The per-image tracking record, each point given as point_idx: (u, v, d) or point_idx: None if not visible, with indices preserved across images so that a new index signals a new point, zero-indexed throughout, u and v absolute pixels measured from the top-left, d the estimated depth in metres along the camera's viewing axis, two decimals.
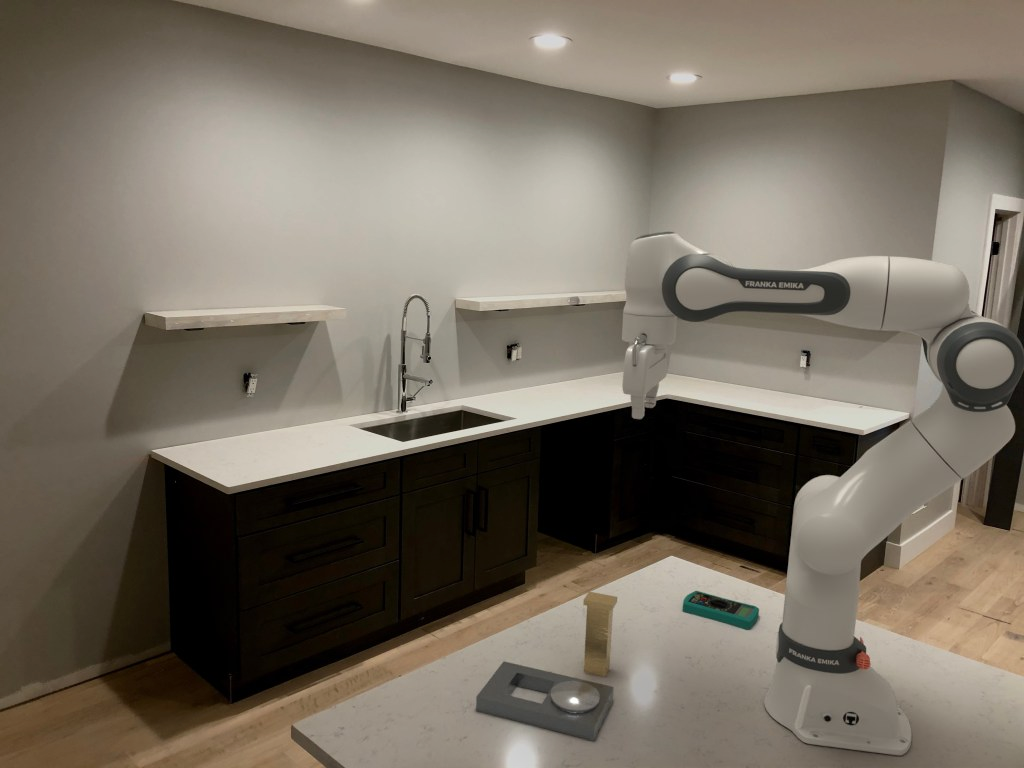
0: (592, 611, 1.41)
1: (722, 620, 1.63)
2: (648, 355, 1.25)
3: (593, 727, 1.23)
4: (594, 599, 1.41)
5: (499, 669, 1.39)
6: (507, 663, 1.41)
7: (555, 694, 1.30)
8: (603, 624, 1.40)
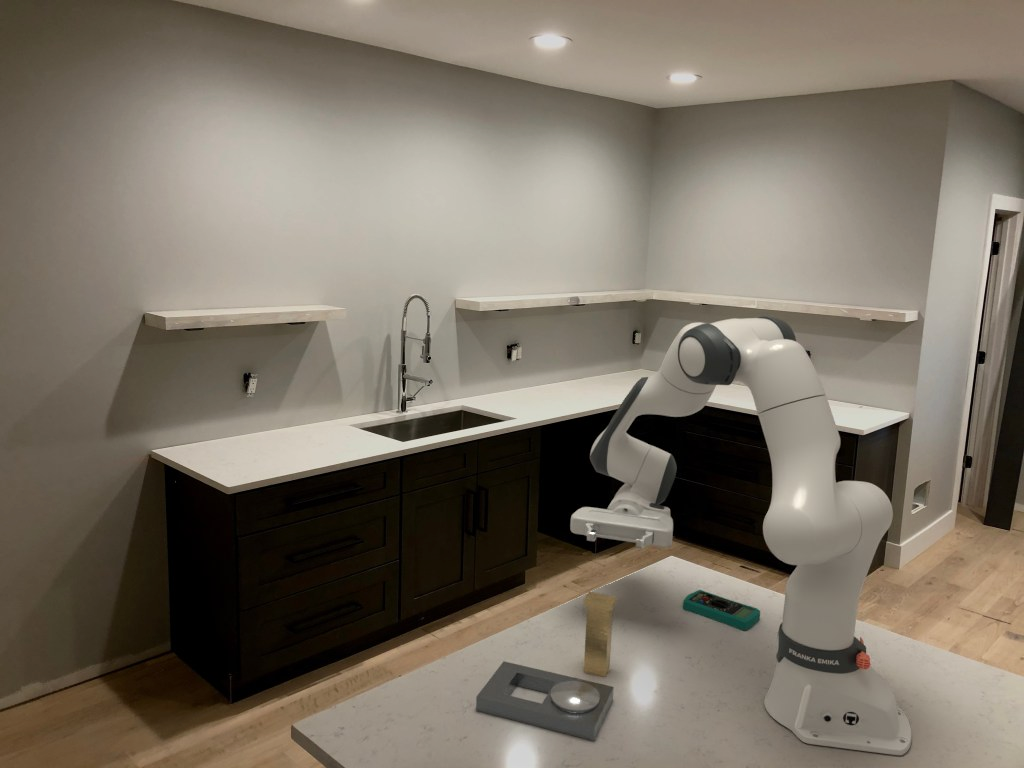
0: (592, 611, 1.41)
1: (719, 620, 1.63)
2: (586, 507, 1.64)
3: (593, 727, 1.23)
4: (594, 599, 1.41)
5: (499, 669, 1.39)
6: (507, 663, 1.41)
7: (555, 694, 1.30)
8: (603, 624, 1.40)
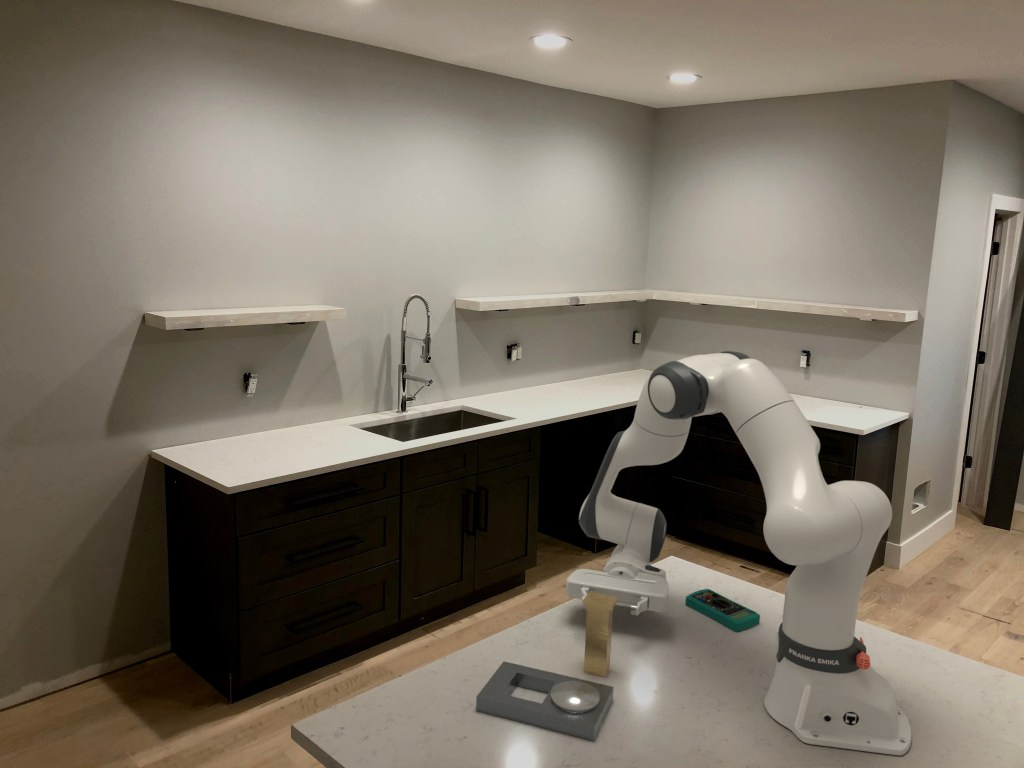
0: (592, 611, 1.41)
1: (715, 619, 1.64)
2: (581, 569, 1.64)
3: (593, 727, 1.23)
4: (594, 599, 1.41)
5: (499, 669, 1.39)
6: (507, 663, 1.41)
7: (555, 694, 1.30)
8: (603, 624, 1.40)
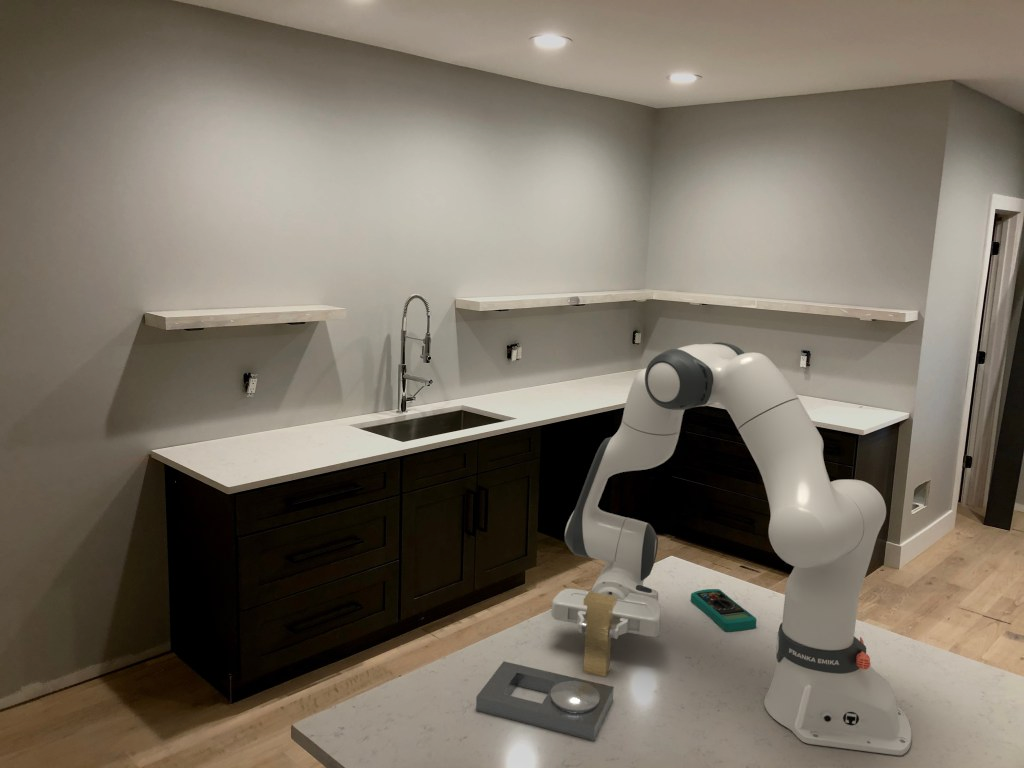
0: (592, 611, 1.41)
1: (711, 617, 1.65)
2: (568, 589, 1.54)
3: (593, 727, 1.23)
4: (594, 599, 1.41)
5: (499, 669, 1.39)
6: (507, 663, 1.41)
7: (555, 694, 1.30)
8: (603, 624, 1.40)
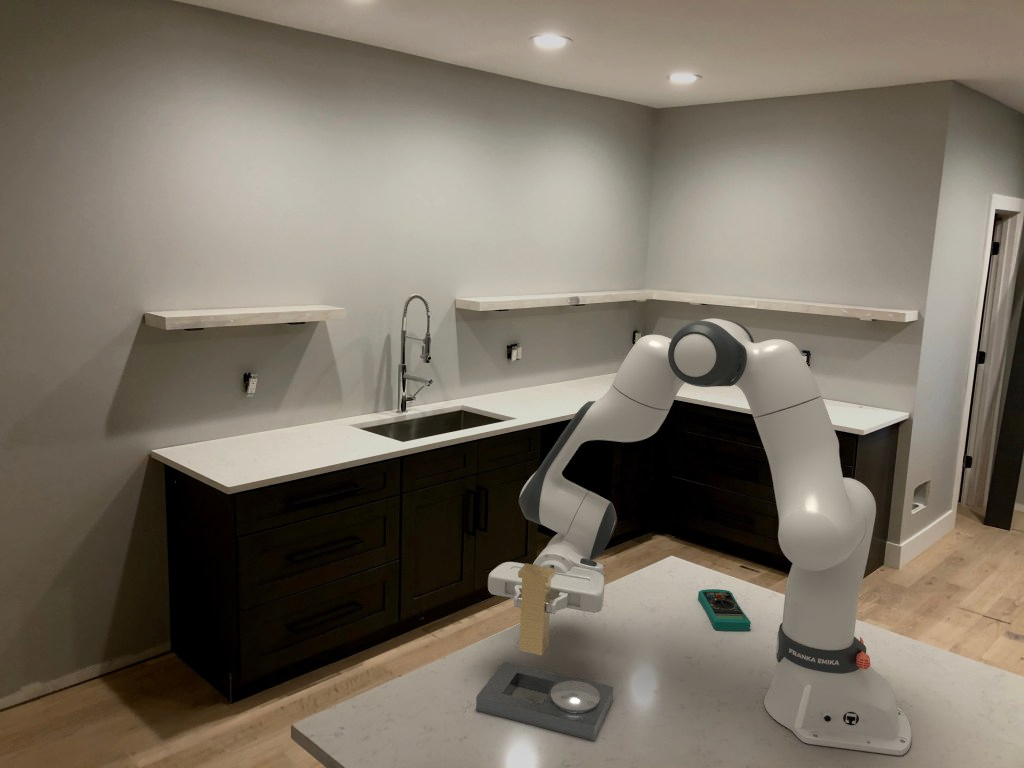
0: (527, 584, 1.30)
1: (708, 615, 1.65)
2: (508, 562, 1.43)
3: (593, 727, 1.23)
4: (530, 571, 1.30)
5: (499, 669, 1.39)
6: (507, 663, 1.41)
7: (555, 694, 1.30)
8: (539, 598, 1.29)
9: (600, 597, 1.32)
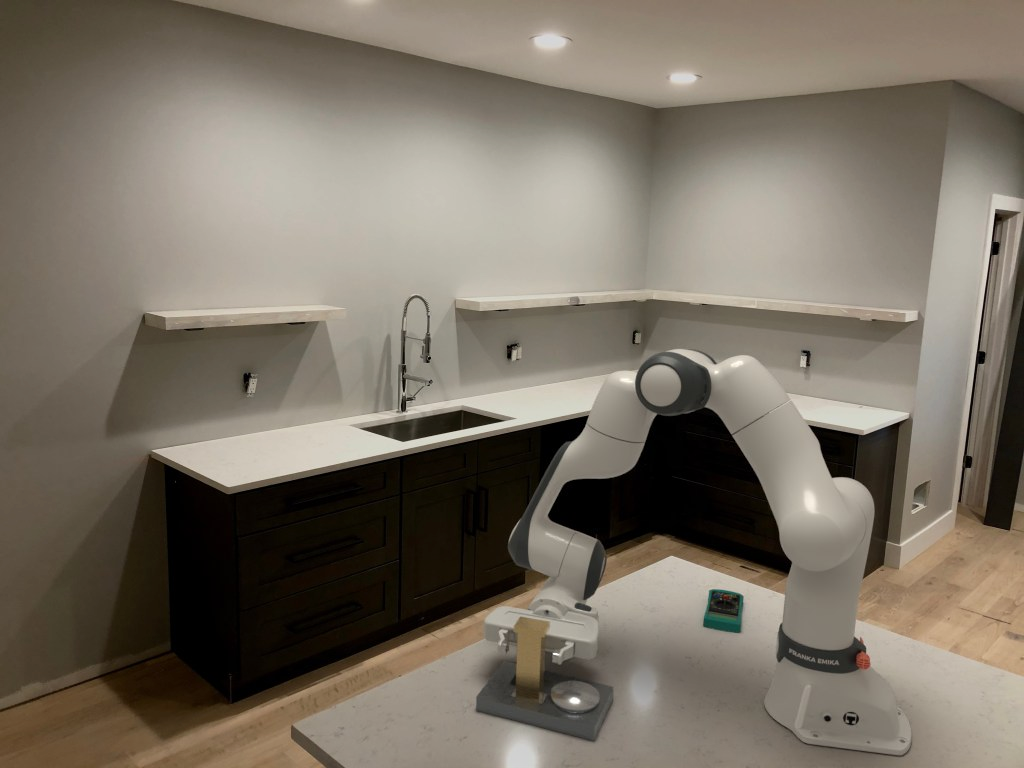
0: (523, 638, 1.31)
1: None
2: (503, 607, 1.44)
3: (593, 727, 1.23)
4: (525, 625, 1.31)
5: (499, 669, 1.39)
6: (507, 663, 1.41)
7: (555, 694, 1.30)
8: (535, 652, 1.30)
9: (594, 644, 1.33)
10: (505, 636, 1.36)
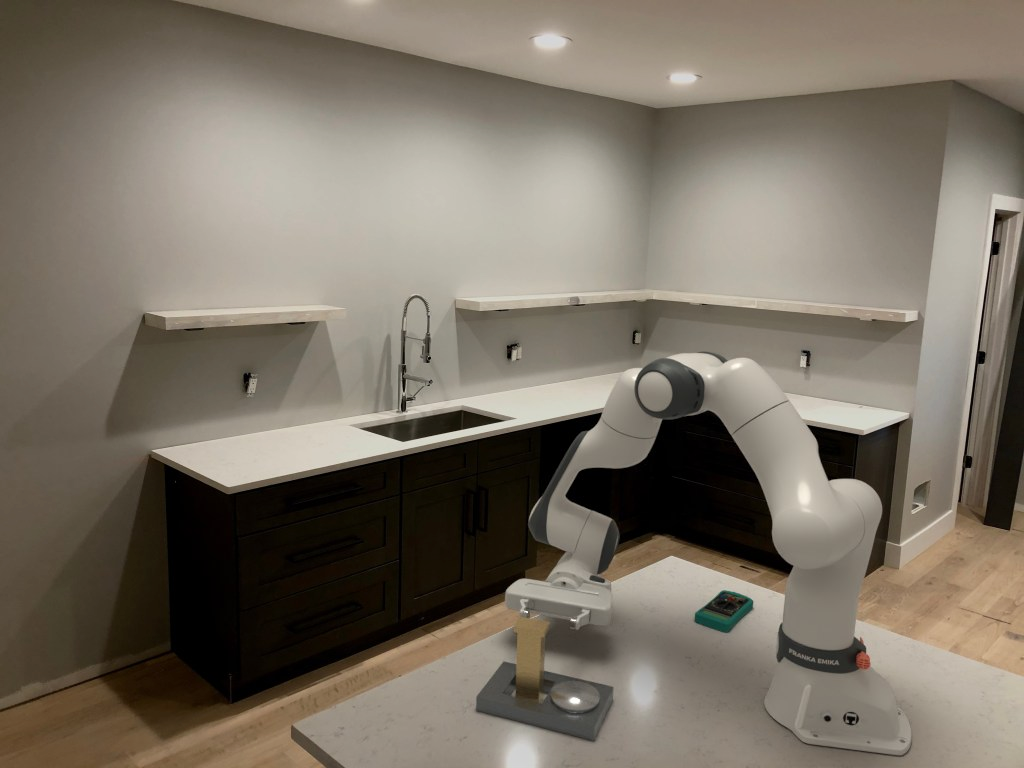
0: (523, 638, 1.31)
1: None
2: (523, 579, 1.55)
3: (593, 727, 1.23)
4: (525, 625, 1.31)
5: (499, 669, 1.39)
6: (507, 663, 1.41)
7: (555, 694, 1.30)
8: (535, 652, 1.30)
9: (609, 612, 1.45)
10: (526, 605, 1.48)
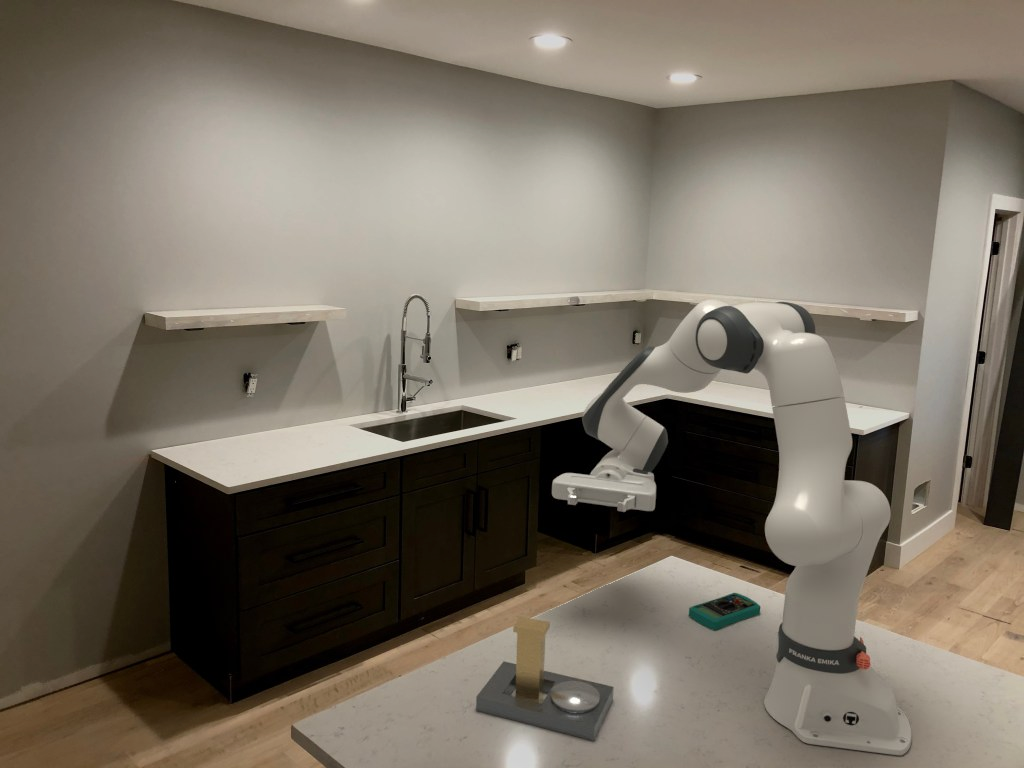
0: (523, 638, 1.31)
1: None
2: (568, 473, 1.61)
3: (593, 727, 1.23)
4: (525, 625, 1.31)
5: (499, 669, 1.39)
6: (507, 663, 1.41)
7: (555, 694, 1.30)
8: (535, 652, 1.30)
9: (653, 497, 1.50)
10: (573, 492, 1.53)
